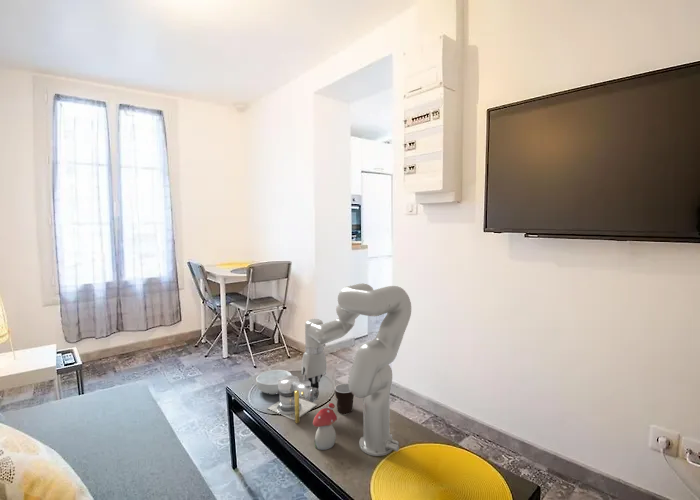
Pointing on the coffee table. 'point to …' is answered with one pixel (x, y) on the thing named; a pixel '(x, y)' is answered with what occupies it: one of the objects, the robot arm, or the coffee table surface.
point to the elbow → (296, 388)
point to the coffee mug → (344, 398)
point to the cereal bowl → (270, 380)
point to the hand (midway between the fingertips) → (314, 390)
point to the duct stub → (292, 406)
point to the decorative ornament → (325, 428)
